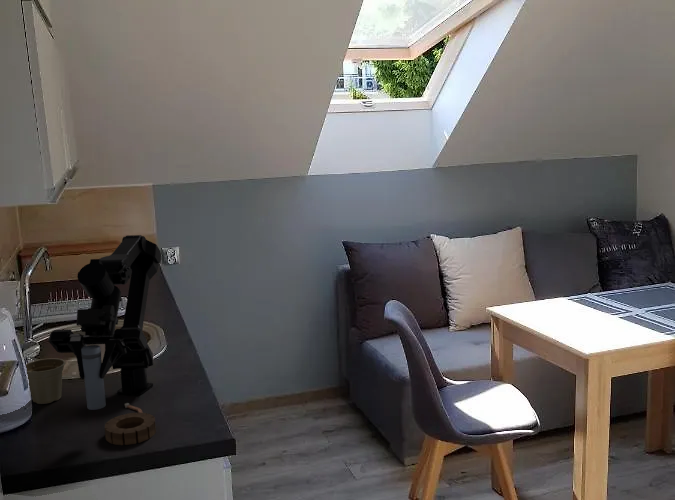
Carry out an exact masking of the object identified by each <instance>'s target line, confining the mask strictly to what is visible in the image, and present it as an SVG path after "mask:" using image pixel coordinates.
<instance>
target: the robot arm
mask: <svg viewBox="0 0 675 500" xmlns="http://www.w3.org/2000/svg"><path fill="white" fill-rule="evenodd" d="M161 262H162V252H161V250H160V248H159V247H158V245H157V244H156V243H154V242H152V241H150V240H149V239H147V238H146V237H145V236H144V235H141V234H136V235H135V234H134V235H133V234H132V235H125V236H123V237H122V240H121V242H120V243H119V244H118V246H117V247H116V248H115V249H114V251H113V252H112V253H111V254H110V255H105V256H103V257H100V258H91V259H90V260H89V263H88V264H85V265H84V266H82V268H80V270H79V271H78V272H77V275H76V276H77V280H78V282H79V285H80V286H81V287H82V289H83V290H84V292H85V294H86V295H87V296H88V297H89V298H90V299H91V303H90V307H88V308H83V309H81V308H80V309H77V311H76V326H78V327H79V326H80V330H81V332H83V333H84V334H81V333H74V332H73V331H72V330H71V329H69V328H68V329H54V330H52V331H51V332H50V333H49V337H48V343H49V344H50V345H51V346H52V347H53V349H54V350H55V351H56V352H57V353H60V354H67V353H68V354H69V353H70V354H72V353H73V355H75V357H76V361H77V362H76V363H77V368H78V369H77V370H78V373H79V378H80V379H81V380H84V370H83V361H82V351H81V349H82V348H83V347H86V346H90V345H104V353H103V357H102V365H101V369H100V378H101V379H103V380H104V378H105V377H106V375H107V374H108V372H109V371H110V370H111V368H112V369H113V370H117V369H118V370H120V371H119V372H120V382H121V388H119V389H118V390H116V394H123V395H132V396H133V395H135V396H136V395H137V396H141V395H143V394H144V393H145V392H147V391H148V390H149V389H150V388H152V387H153V386H154V383H152V382H148V373H147V369H148V368H149V367H153V366H154V355H153V351H152V350H151V348H150V346H149V344H148V340H147V337H146V336H145V334H144V332H143V329H144V320H145V314H146V307H147V306H146V305H147V301H148V293H149V285H150V281H151V279H152V278H153V277H154V276H155V275H156V273H158V270H159V265H160V263H161ZM128 282H129V285H128V291H127V297H126V298H127V299H126V305H125V312H124V316H123V323H122V326H121V327H120V328H116V325H117V326H118V325H119V319H118V314H119V309H120V308H119V307H120V303H121V302H122V300H123V298H122V291H121V290H120V288H119V287H118V286H119V285H120V286H121V285H122V286H124V285H127V283H128ZM116 285H117V286H116Z"/></svg>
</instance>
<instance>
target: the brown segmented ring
mask: <svg viewBox="0 0 675 500" xmlns="http://www.w3.org/2000/svg"><path fill="white" fill-rule="evenodd" d="M156 433H157V428H156V417H155V416H154V415H152V414H150V413H147V412H143V413H139V412H138V411H136V412H130V413H129V412H128V413H124V414H120V415H118V416H115V417H113V418H111V419H109V420H108V421H107V422H105V424H104V435H105V440H106V442H108V443H109V444H111V445H112V444H113V445H116V446H124V445H125V446H128V445H129V446H131V445H137V443H138V444H140V443H142V442H145V441H147V440H149V439H151V438H152V437H153V436H155V434H156Z"/></svg>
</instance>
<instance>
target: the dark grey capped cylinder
mask: <svg viewBox="0 0 675 500" xmlns="http://www.w3.org/2000/svg"><path fill="white" fill-rule="evenodd" d="M81 351H82V361H83V370H84V379H83V381H84V387H85V397H86V406H87V409H88V410H90V411H95V410H100V409H103V408H105V407H106V405H107V403H106V402H107V401H106V394H105V393H106V392H105V382H104V378H103V379H101V378H100V369H101V365H102V361H103V359H102V351H101V346H100V345H99V344H90V345H87V346H86V347H83V348H82V349H81Z"/></svg>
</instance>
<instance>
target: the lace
mask: <svg viewBox="0 0 675 500" xmlns="http://www.w3.org/2000/svg"><path fill="white" fill-rule="evenodd" d="M124 407H125V409H130V410H133V411H136V412H137V413H138V412H139V413H144V412H143V410H142V409H141V408H140V407H137V406H134V405H131V404H130V403H129V402H126V403H124Z"/></svg>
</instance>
